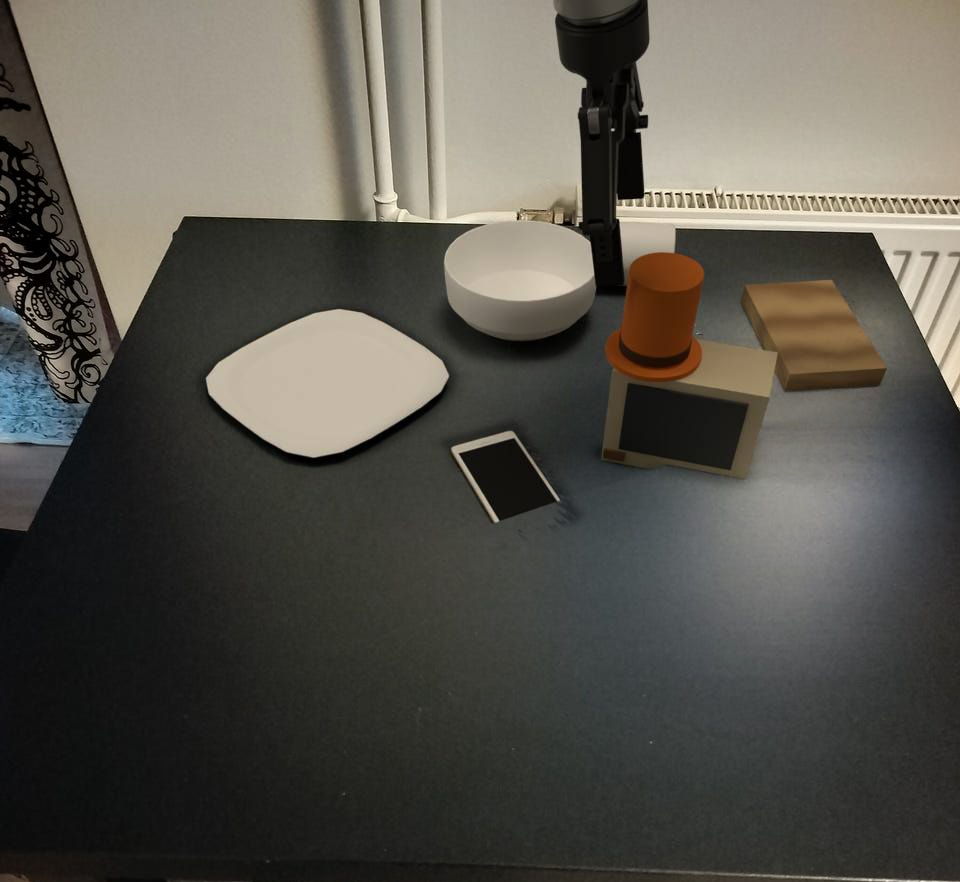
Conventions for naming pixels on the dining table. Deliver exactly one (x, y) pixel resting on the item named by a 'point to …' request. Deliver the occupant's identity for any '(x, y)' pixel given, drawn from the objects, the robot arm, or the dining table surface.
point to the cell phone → (504, 475)
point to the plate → (326, 382)
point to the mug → (644, 241)
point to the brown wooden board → (812, 335)
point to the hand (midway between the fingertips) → (621, 239)
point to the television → (693, 413)
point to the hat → (658, 319)
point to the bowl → (520, 278)
